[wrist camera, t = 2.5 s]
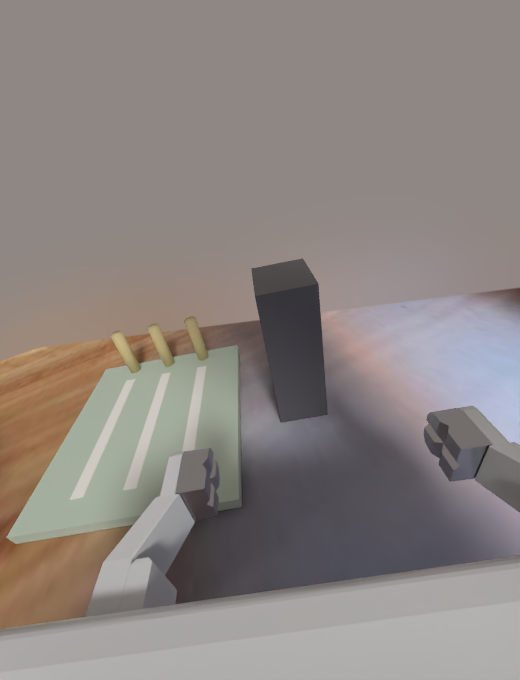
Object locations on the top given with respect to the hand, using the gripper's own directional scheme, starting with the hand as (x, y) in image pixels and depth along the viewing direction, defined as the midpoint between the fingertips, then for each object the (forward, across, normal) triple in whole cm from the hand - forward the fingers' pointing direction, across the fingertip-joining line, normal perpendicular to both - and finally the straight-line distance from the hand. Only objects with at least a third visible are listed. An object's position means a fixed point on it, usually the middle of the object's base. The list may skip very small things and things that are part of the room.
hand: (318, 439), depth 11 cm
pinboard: (+12, +13, +10) cm, 21 cm away
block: (+12, -1, +10) cm, 16 cm away
